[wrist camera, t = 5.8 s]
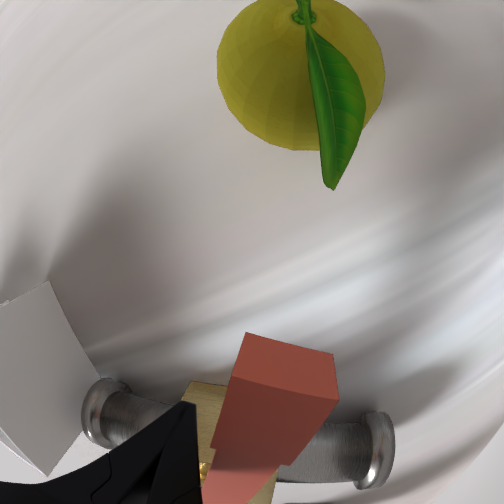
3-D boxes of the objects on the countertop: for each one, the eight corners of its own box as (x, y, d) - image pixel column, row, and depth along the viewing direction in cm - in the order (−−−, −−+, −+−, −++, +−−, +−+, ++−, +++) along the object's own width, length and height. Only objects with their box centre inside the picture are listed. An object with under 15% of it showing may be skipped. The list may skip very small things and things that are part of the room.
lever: (238, 514, 11) (233, 534, 9) (182, 499, 11) (174, 519, 9) (357, 356, 6) (369, 404, 5) (218, 321, 6) (196, 364, 5)
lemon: (269, 28, 10) (223, -121, 1) (377, 73, 10) (480, -45, 1) (212, 136, 12) (47, 84, 3) (324, 187, 12) (412, 231, 3)
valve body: (385, 392, 15) (408, 478, 8) (361, 443, 17) (369, 515, 10) (110, 361, 18) (57, 420, 11) (130, 413, 20) (93, 469, 13)
